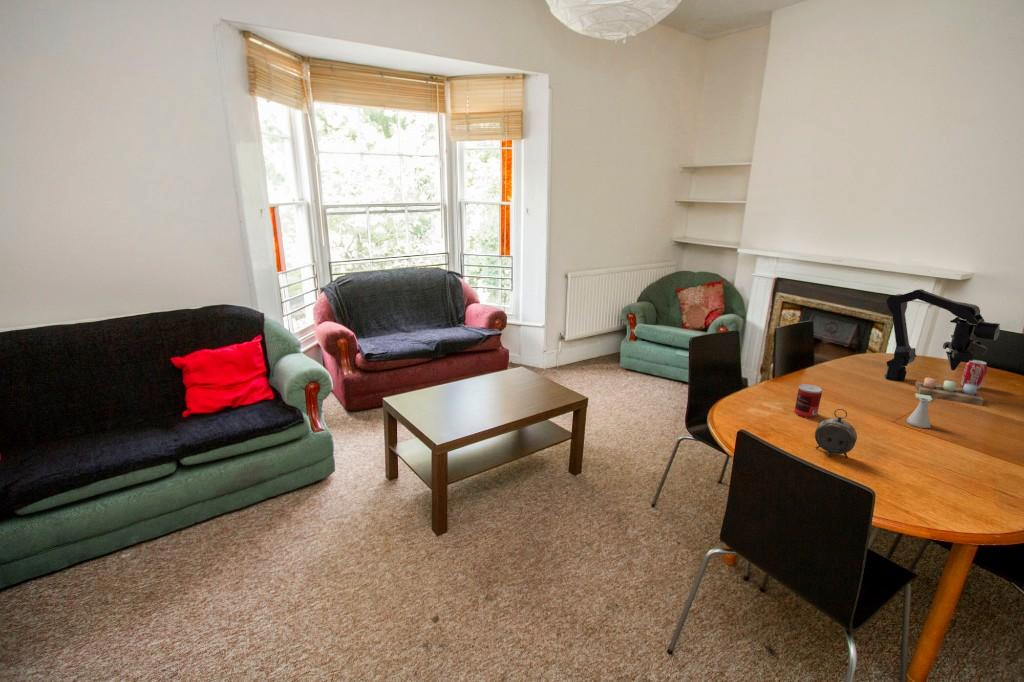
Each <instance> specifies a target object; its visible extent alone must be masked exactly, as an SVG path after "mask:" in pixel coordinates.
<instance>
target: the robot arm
mask: <svg viewBox="0 0 1024 682" xmlns="http://www.w3.org/2000/svg"><path fill="white" fill-rule="evenodd" d="M915 300H919V301H922V302H925V303H927V304H930V305H933V306H935V307H938V308H941V309H943V310H946V311H948V312H950V313H951V315H954V316H955V318H953V319H951V320H949V322H950V323H952V324H953V323H954V324H955V327H954V330H953V334H951V335H950V338H951V341H946V342H943V344H942V348H943V350H946V349H948V351H947V350H946V351H945V355H946V357H947V361H948V363H949V367H950V370H951V371H956V369H958V366H959V365H960V364H961V362H962V361H969V360H970V361H973V360H975V355H974V354H973V353H972V352H974V353H977V354H978V355H980V356H984V355H985V353H986V352H987V351H988V350H989V348H987V347H986V346H985V345H983V344H982V342H981V341H980V340H978V339H976V340H974V339H973V338H972V336H975V337H976V338H979V339H983V340H984V339H985V340H989V341H993V342H994V341H996V340H997V339H998V338H999V336H1000V333H1001V331H1000V329H1001V327H1000V325H1001V324H1000V323H996V322H988V321H986V320H985V319H984V317H983V316H982V314H981V309H980V307H979V306H978V305H977V304H972V303H967V302H959V301H955V300H952V299H949V298H945V297H943V296H941V295H937V294H934V293H932V292H928V291H926V290H924V289H922V288H919V289H915V290H913V291H910V292H907V293H904V294H902V293H898V294H893V295H890V296H888V297H887V298H886V301H885V303H886V306H887V309H888V311H889V313H890V314H891V317H892V322H893V323H892V324H893V331H894V332H893V333H894V338H895V348H894V352H893V358H892V359H889V360H888V361H886V362H885V363H886V371H885V372H886V373H885V374H884V377H885V380H889V381H894V382H895V381H896V382H900V383H903V382H904V381H905V379H906V375H907V369H906V367H907V366H908V365H910V364H912V363H914V361H915V360H916V358H917V357H918V356H917V354H916V348H915V347H911V345H910V341H909V333H908V327H907V320H906V319H907V318H906V312H907V309H908V302H912V301H913V302H914V301H915Z"/></svg>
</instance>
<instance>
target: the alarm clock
mask: <svg viewBox="0 0 1024 682" xmlns="http://www.w3.org/2000/svg"><path fill="white" fill-rule="evenodd" d="M837 411H843V412H845V416H844V417H841V416H837V415H836V413H837ZM834 416H835V418H833V417H832V418H826V419H824V420H822V421H820V422H819V423H818V425H817V427H816V430H815V432H814V439H815V441H816V443H817V446H816V447H815V449H816V450H817V449H818V448H821V449H822V450H823V451H825V452H827V453H828V457H829V458H831V457H832V455H844V456H845V458H846V459H848V458H849V456H848V454H847V453H849V452H851V451H852V450H853V449H854V447H855V445H856V444H857V443H856V442H857V440H858V436H857V431H856V429H855V428H854V426H853V425H851V424H850V423H849V422H848V421H846V420H844V419H846V418H847V416H848V412H847V411H846V410H845V409H844V408H837V409H835V411H834Z"/></svg>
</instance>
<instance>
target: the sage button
mask: <svg viewBox="0 0 1024 682" xmlns="http://www.w3.org/2000/svg"><path fill="white" fill-rule="evenodd" d="M942 385H943V388H942V390H943V391H949V392H955V388H956V387H957V385H958V384H957V382H956V381H952V380H944V382H943V384H942Z"/></svg>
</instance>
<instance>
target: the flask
mask: <svg viewBox="0 0 1024 682" xmlns="http://www.w3.org/2000/svg"><path fill="white" fill-rule="evenodd" d="M930 403H931V401H930V400H929V399H926V398H920V399H919V403H918V404H917V407H916V408H915V409H914V410H913V412H912V413H911V414H910V415H909V417H907V418H906V423H907V424H909V425H911V426H913V427H916V428H921V429H931V421H930V417H929V404H930Z"/></svg>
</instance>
